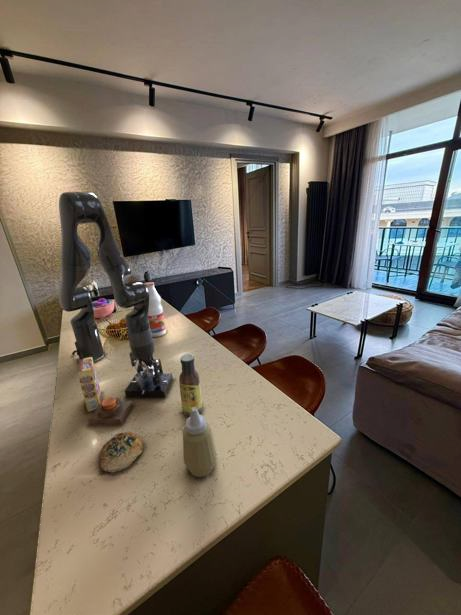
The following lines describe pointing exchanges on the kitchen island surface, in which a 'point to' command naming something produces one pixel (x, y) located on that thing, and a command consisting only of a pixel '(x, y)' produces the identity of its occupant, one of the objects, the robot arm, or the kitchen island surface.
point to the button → (109, 403)
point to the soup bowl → (103, 307)
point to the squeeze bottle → (198, 445)
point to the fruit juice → (155, 312)
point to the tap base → (150, 388)
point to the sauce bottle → (189, 385)
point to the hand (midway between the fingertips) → (149, 380)
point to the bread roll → (120, 452)
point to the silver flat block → (144, 378)
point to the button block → (111, 413)
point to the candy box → (89, 383)
